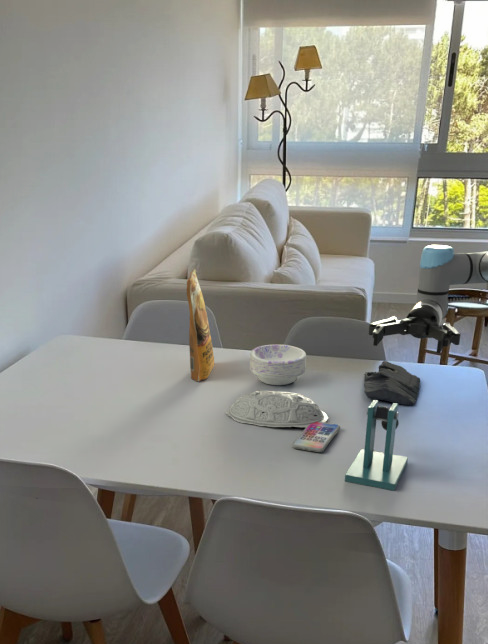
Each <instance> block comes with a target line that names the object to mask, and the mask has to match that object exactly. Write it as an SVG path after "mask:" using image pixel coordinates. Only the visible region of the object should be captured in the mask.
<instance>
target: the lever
mask: <svg viewBox="0 0 488 644" xmlns="http://www.w3.org/2000/svg"><path fill="white" fill-rule="evenodd" d="M389 409H390V408H389V407H388V406H381V405H378V406H377V410H376V415H375V418H376V419H377V420H376V421H380V424H381V427H382V428H383V430H384V431H386V432H387V422H388V413H389ZM399 424H400V422H399V418H398V419H397V421H396V429H398V427H399Z"/></svg>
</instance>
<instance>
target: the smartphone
mask: <svg viewBox="0 0 488 644" xmlns="http://www.w3.org/2000/svg"><path fill="white" fill-rule="evenodd" d="M340 429H341V425H340V424H338V423H333V422H332V423H331V422H319V421H318V422H315V423H312V424H309V425H308V426H307V427H304V429H303V430H302V431H301V433H300V434H299V435H298V436H297V437H296V438H295V440H294V441H293V442H292V444H291V447H292V448H293V449H296V450H302V451H307V452H308V451H309V452H314V453H323V452H324V451H325V450H326V448H327V447H328V445H329V444H330V442H331V441H332V440H333V439H334V437H335V436H336V435H337V433H338V432H339V431H340Z"/></svg>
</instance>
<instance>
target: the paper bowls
mask: <svg viewBox="0 0 488 644" xmlns="http://www.w3.org/2000/svg"><path fill="white" fill-rule="evenodd" d="M306 365H307V353H306V352H305V350H303V349H302V348H300V347H297V346H292V345H289V344H267V345H266V344H265V345H259V346H257V347H255V348H253V349H252V350H251V351H250V353H249V370H250V372H251V373H252V374H253V375H255V376H257V378H258V380H259V381H260V382H262V383H264V384H267V385H270V386H285V385H286V386H287V385H290V384H292V383H294V382H295V381H297V378H298V377H299V376H302V375H303V374H304V373H305V372H306Z"/></svg>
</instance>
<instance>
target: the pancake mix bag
mask: <svg viewBox="0 0 488 644" xmlns="http://www.w3.org/2000/svg"><path fill="white" fill-rule="evenodd" d="M186 299H187V303H188V308H189V309H188V310H189V330H188V331H189V332H188V333H189V334H188V342H189V343H188V345H189V347H188V348H189V367H190V378H191V379H192V380H193V381H195V382H201V381H204V380H205V381H206V380H207V379H209V377H210V376H211V375H210V374H211V373H212V371H213V370H214V368H215V367H214V366H215V356H214V347H213V341H212V336H211V331H210V324H209V319H208V314H207V309H206V304H205V300H204V295H203V291H202V289H201V286H200V282H199V279H198V276H197V273H196V268H193V270H191V272H190V273H189V277H188V279H187V281H186Z"/></svg>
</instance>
